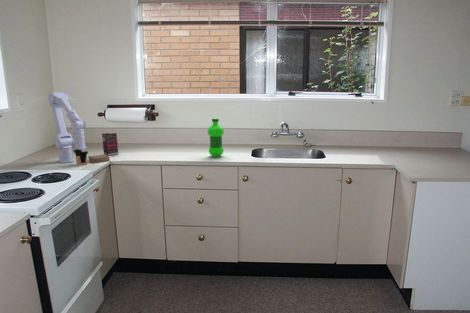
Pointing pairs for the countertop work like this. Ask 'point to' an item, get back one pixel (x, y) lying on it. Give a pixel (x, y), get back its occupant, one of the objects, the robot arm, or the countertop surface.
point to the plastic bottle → (215, 138)
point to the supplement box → (110, 144)
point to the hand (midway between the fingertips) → (81, 161)
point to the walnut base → (99, 158)
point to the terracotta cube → (80, 161)
